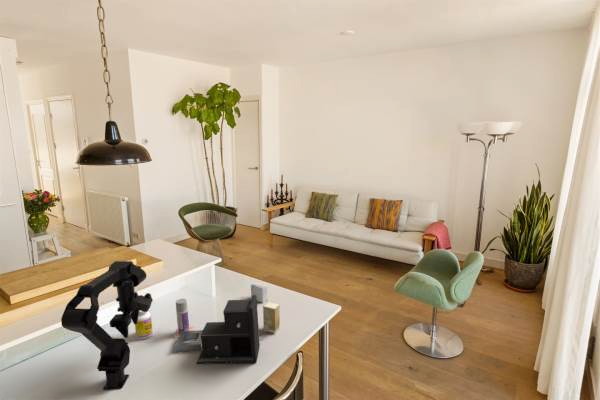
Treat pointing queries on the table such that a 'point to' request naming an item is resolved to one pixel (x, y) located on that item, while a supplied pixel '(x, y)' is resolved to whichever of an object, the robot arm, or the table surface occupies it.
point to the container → (182, 315)
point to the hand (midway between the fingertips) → (131, 330)
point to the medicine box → (259, 291)
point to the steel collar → (189, 346)
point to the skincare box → (271, 317)
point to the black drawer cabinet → (232, 335)
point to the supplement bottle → (143, 325)
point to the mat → (178, 333)
